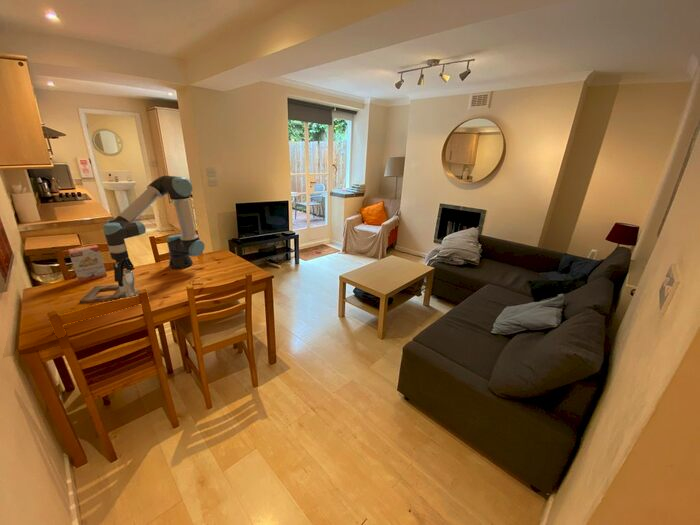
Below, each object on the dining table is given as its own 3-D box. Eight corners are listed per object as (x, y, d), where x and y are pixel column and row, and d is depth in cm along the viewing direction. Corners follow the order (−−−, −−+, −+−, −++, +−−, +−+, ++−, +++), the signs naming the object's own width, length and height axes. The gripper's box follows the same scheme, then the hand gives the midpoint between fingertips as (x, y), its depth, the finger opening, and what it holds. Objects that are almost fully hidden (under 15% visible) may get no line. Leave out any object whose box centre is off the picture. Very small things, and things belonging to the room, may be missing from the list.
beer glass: (135, 290, 171) (130, 268, 166) (139, 295, 167) (134, 272, 162) (121, 294, 166) (115, 271, 160) (125, 299, 162) (119, 275, 157)
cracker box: (79, 282, 179) (68, 251, 171) (77, 279, 182) (67, 249, 174) (107, 276, 189) (98, 246, 181) (105, 273, 192) (96, 244, 184)
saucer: (146, 290, 174) (146, 289, 174) (139, 299, 164) (139, 298, 163) (122, 292, 170) (122, 291, 170) (114, 302, 160) (114, 301, 160)
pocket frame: (130, 285, 179) (129, 283, 178) (118, 299, 163) (118, 297, 162) (95, 288, 173) (94, 286, 173) (80, 303, 157) (79, 300, 157)
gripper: (119, 244, 166) (128, 277, 174) (99, 259, 144) (111, 296, 152) (134, 243, 168) (142, 275, 176) (117, 258, 147) (127, 294, 155)
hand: (128, 285), depth 164 cm, fingers open, 13 cm apart
